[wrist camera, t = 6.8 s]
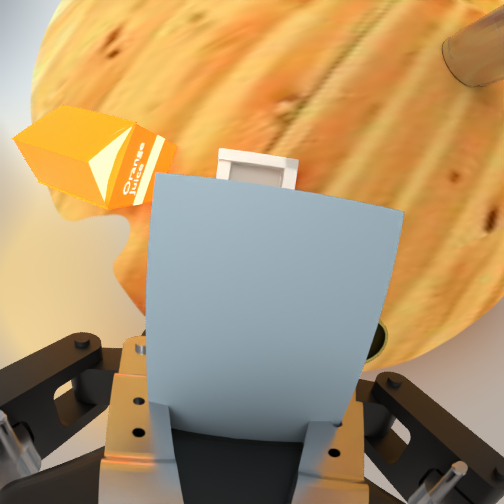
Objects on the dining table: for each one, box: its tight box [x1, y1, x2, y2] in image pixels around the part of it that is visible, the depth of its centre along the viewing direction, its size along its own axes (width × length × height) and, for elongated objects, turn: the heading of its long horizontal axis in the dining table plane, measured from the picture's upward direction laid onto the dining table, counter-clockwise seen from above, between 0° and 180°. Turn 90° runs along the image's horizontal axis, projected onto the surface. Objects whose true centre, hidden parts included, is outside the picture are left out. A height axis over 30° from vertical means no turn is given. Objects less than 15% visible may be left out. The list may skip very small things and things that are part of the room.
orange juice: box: [12, 105, 177, 210], centre depth 26 cm, size 8×9×20 cm
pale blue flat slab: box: [146, 172, 404, 442], centre depth 10 cm, size 4×12×10 cm, turn 172°
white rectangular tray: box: [216, 148, 299, 190], centre depth 36 cm, size 9×20×4 cm, turn 172°
